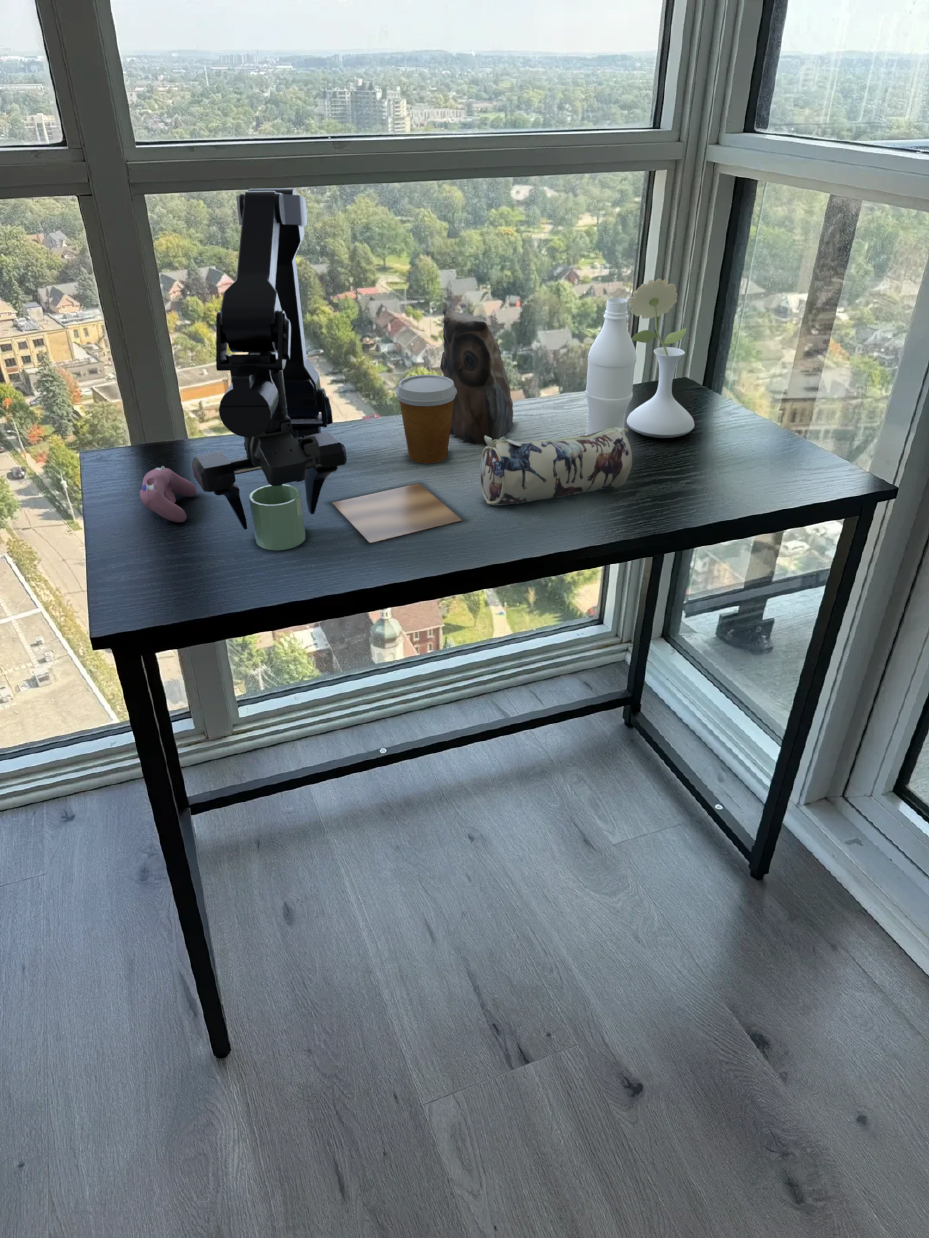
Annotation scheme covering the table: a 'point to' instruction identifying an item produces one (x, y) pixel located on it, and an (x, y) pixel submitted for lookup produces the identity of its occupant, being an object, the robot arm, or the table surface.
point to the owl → (475, 379)
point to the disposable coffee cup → (427, 415)
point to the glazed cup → (277, 517)
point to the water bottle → (610, 370)
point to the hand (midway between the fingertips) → (278, 520)
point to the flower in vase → (662, 409)
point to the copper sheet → (395, 512)
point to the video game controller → (165, 493)
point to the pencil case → (553, 466)
